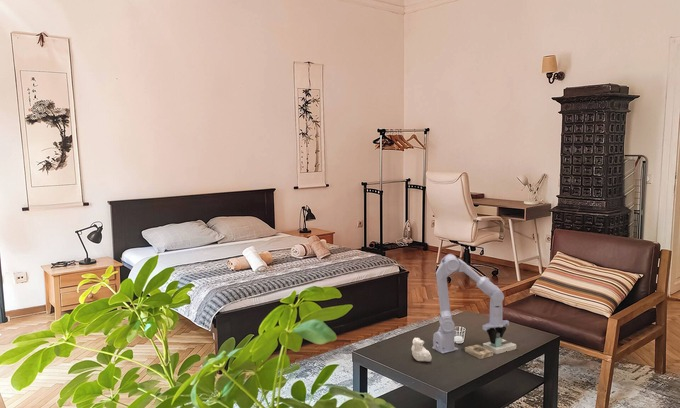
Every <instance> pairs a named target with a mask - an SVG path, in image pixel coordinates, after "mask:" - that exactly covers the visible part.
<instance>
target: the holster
mask: <svg viewBox="0 0 680 408" xmlns="http://www.w3.org/2000/svg"><path fill="white" fill-rule="evenodd" d="M464 352H465V353H467V354H469V355H470V356H473V357H475V358H477V359H479V360H482V359H486V358H490V357H493V356H494V353H493V351H491V350H489V349H487V348H485V347H483V345H481V344H477V343H476V344H474V345H469V346H466V347H464Z"/></svg>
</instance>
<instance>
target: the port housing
mask: <svg viewBox="0 0 680 408" xmlns="http://www.w3.org/2000/svg"><path fill="white" fill-rule="evenodd" d="M482 347H485V348H487V349H489V350H491V351H493V354H496V355H498V354H502V353H506V351H507V352H510V351H514V350H516V349H517V344H516V343H513V342H511V341H508V340H506V339H503V338H502V343H501V346H500V347H496V348H495V347H493V346H491V342H490V341H488V342H484V343H482Z"/></svg>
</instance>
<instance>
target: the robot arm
mask: <svg viewBox="0 0 680 408" xmlns="http://www.w3.org/2000/svg"><path fill="white" fill-rule="evenodd" d="M455 272H459V273H461V272H462V273H464V274H465V275H467V276H468V277H469V278H470V279H472V281H474V282H476V283H475V284H476V287H477V288H478V289H479V290H481V292H483V293H484V294H485V295H487V296H488V297H489V322H487V323H485V324H482V330H483V331H485V332H487V335H488V337H489V342H491V343H492V344H495V340H496V334H497V332H498V333H500V337H502V338H503V336H504V334H505V332H506V331H507V327H506V326H510V321H509V320H507V319H505V320H503V315H504V314H503V309H504V308H503V306H504V305H503V301H504V300H505V295H504V292H503V291H502V290H501V289H500V288H499V287H498V285H497V284H494V283H493V282H492V281H491V280H490V278H489V277H486V276H480V275H479V274H478V273H477V272H476V271H475V270H474V269H473V268H471V266H469V265H468V263H466V262H465V261H464V260H462V259H460V258H457V256H456V255H455V254H452V253H448V254H446V255H445V256H444V257H443V258H441V260H440V263H439V265H438V268H437V270H436V272H435V277H436V286H437V294H438V295H437V297H438V305H439V317H438V322H439V327H438V330H437V331H436V332H434V333H433V336H432V345H433V346H432V347H431V348H432V349H433V350H434V351H435V350H436V351H437V352H439V353H441V354H447V353H450V352H454V351H459V348H458V347H456V346H455V326H456V325H455V322H454V320H453V317H452V311H451V303H450V297H449V296H450V294H449V288H448V277H449V276H450V275H451V274H452V273H455Z"/></svg>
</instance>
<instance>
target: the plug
mask: <svg viewBox="0 0 680 408" xmlns="http://www.w3.org/2000/svg"><path fill="white" fill-rule="evenodd" d="M502 339H503V337H500V333H498V332H497V334H496V340H495V344H492V343H491V346H493V347H495V348H496V347H500V346H501V343H502Z"/></svg>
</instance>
